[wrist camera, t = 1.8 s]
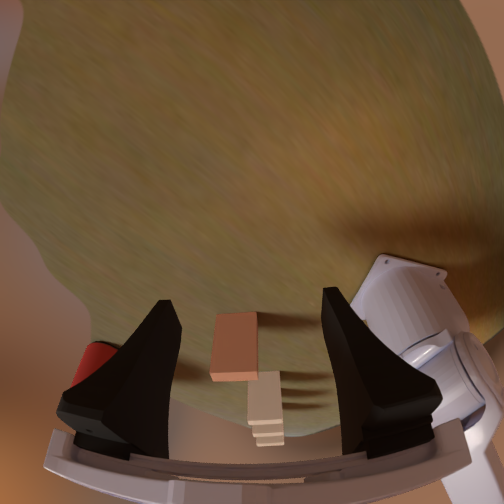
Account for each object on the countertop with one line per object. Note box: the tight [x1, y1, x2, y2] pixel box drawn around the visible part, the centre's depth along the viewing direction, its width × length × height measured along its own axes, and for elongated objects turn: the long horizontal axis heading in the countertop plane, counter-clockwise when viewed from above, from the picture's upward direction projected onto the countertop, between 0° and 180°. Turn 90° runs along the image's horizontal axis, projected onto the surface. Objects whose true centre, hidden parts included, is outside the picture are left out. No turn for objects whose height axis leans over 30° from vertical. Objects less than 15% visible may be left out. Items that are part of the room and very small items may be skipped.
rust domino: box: [209, 312, 258, 381], centre depth 26 cm, size 2×4×7 cm, turn 97°
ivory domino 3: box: [256, 412, 284, 446], centre depth 38 cm, size 2×4×7 cm, turn 97°
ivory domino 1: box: [247, 371, 282, 425], centre depth 32 cm, size 2×4×7 cm, turn 97°
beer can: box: [68, 342, 118, 429], centre depth 29 cm, size 7×7×12 cm
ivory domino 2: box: [252, 398, 283, 437], centre depth 35 cm, size 2×4×7 cm, turn 97°
